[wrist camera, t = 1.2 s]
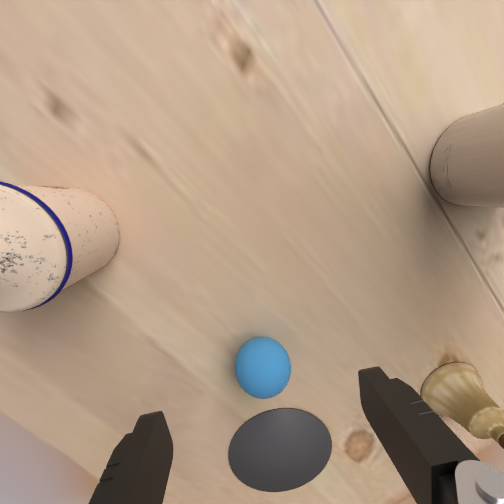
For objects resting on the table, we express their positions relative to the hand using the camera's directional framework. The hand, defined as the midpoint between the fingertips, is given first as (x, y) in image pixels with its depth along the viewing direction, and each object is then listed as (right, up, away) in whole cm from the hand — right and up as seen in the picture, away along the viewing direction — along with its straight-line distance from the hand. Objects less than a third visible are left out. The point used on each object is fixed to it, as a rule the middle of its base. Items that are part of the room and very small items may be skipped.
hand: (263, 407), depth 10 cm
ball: (+1, -6, +17) cm, 18 cm away
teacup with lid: (-19, +7, +16) cm, 26 cm away
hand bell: (+26, -12, +24) cm, 37 cm away
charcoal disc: (+3, -21, +24) cm, 32 cm away
